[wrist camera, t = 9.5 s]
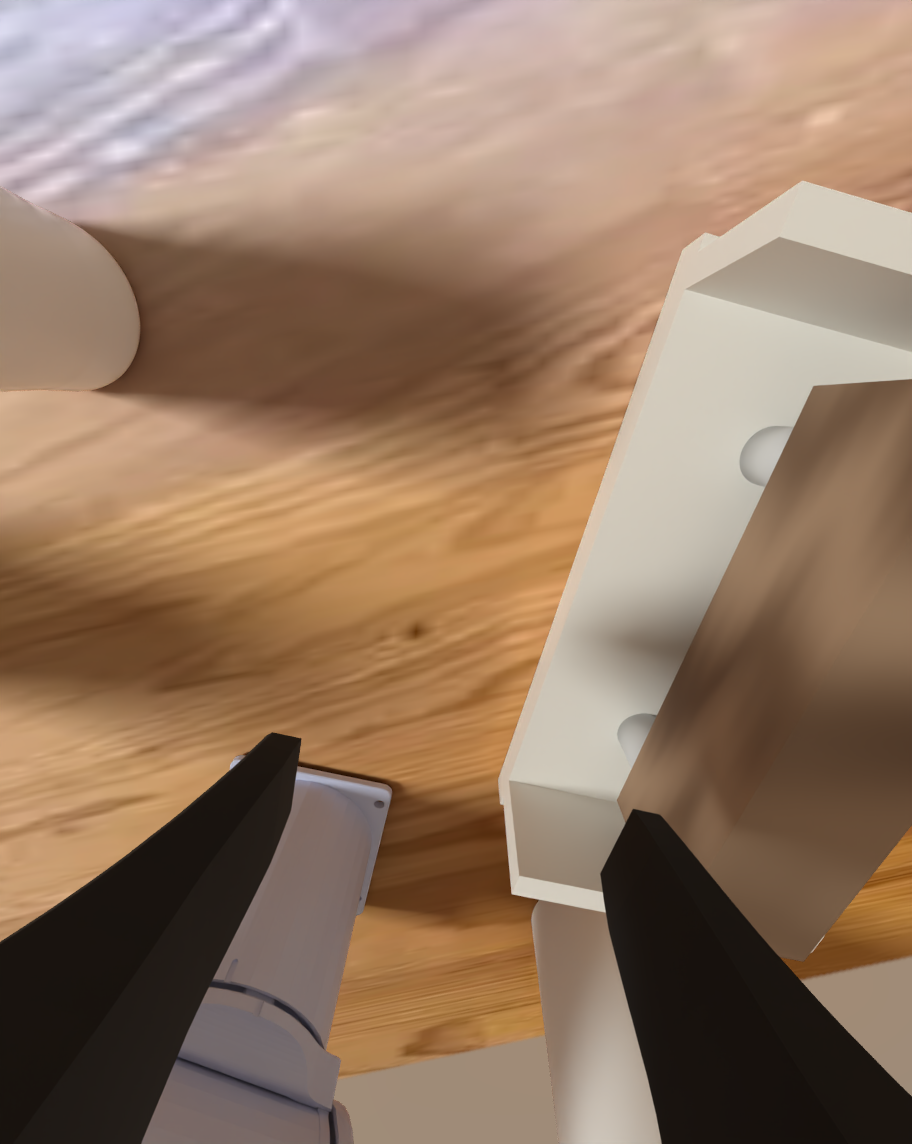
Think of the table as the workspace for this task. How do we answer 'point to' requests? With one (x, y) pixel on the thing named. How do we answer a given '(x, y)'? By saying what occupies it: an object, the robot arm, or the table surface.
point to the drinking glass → (60, 304)
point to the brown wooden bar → (801, 679)
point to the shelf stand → (691, 500)
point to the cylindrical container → (589, 1032)
